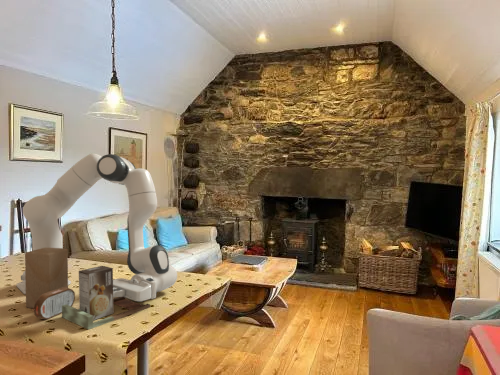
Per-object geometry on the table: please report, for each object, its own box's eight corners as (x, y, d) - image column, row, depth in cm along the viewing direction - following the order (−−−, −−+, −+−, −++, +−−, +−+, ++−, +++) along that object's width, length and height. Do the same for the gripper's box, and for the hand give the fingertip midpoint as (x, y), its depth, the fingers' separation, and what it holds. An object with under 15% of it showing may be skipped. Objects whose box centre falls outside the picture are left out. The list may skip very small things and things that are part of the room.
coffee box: (103, 309, 134) (102, 264, 133) (114, 313, 130) (113, 267, 129) (78, 317, 126) (78, 270, 125) (89, 322, 123) (89, 273, 122)
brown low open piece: (62, 317, 126) (61, 305, 126) (123, 297, 146) (123, 287, 146) (88, 329, 117) (88, 317, 117) (150, 307, 136) (150, 296, 136)
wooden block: (49, 310, 132) (48, 254, 131) (25, 308, 134) (24, 252, 133) (68, 300, 142) (68, 248, 141) (45, 298, 144) (45, 247, 143)
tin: (70, 306, 136) (69, 283, 136) (76, 307, 135) (76, 284, 135) (32, 322, 122) (32, 296, 122) (40, 323, 121) (39, 298, 121)
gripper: (124, 272, 149) (91, 280, 137) (158, 281, 137) (126, 291, 125) (124, 288, 149) (91, 297, 138) (158, 299, 137) (126, 310, 126)
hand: (108, 294), depth 131 cm, fingers closed
